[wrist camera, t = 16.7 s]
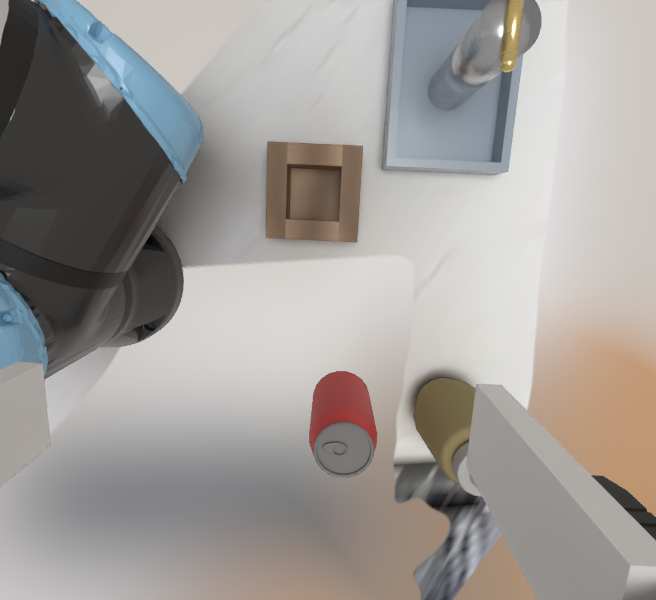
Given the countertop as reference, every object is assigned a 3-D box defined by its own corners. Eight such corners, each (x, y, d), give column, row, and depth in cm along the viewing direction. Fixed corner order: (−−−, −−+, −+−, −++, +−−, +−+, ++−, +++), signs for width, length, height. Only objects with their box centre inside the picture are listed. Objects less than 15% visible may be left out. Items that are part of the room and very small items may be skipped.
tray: (382, 169, 44) (386, 165, 41) (393, 1, 41) (399, -19, 38) (494, 174, 44) (508, 171, 41) (515, 6, 41) (531, -13, 38)
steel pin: (425, 120, 43) (479, 68, 27) (431, 56, 41) (491, -38, 26) (464, 122, 43) (540, 71, 27) (471, 57, 41) (555, -35, 26)
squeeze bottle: (423, 441, 51) (471, 561, 33) (396, 384, 49) (432, 479, 32) (485, 415, 50) (569, 524, 32) (460, 357, 49) (533, 438, 31)
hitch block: (273, 235, 46) (265, 237, 41) (274, 149, 44) (267, 141, 39) (354, 239, 46) (357, 242, 41) (359, 153, 44) (362, 146, 39)
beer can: (318, 364, 49) (314, 412, 37) (373, 374, 49) (386, 424, 37) (309, 415, 50) (302, 477, 39) (362, 424, 50) (372, 488, 39)
